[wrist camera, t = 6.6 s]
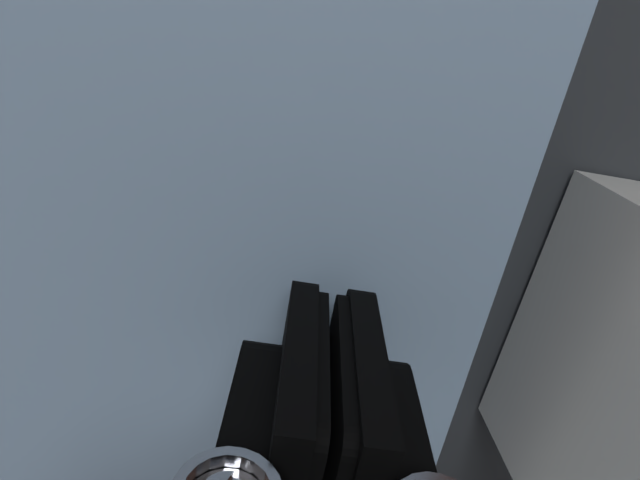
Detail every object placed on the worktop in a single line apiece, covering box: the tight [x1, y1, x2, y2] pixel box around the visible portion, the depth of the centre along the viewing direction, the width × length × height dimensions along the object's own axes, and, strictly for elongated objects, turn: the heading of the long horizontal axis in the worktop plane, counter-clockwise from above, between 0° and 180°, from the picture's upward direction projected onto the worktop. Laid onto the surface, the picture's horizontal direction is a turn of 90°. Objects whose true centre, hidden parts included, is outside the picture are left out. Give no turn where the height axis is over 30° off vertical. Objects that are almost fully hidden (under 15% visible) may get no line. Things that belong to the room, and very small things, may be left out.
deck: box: [0, 0, 599, 480], centre depth 12 cm, size 14×20×4 cm
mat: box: [436, 0, 640, 480], centre depth 15 cm, size 11×20×1 cm, turn 171°
